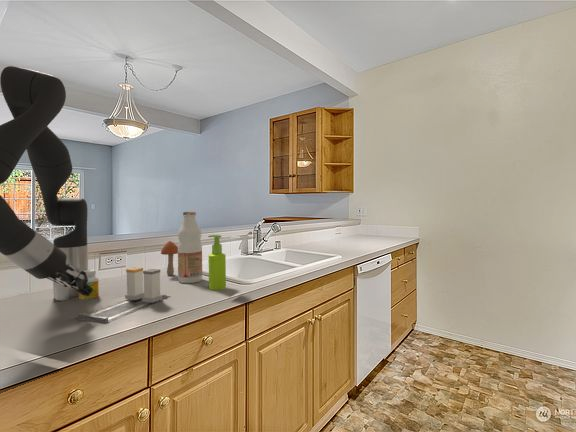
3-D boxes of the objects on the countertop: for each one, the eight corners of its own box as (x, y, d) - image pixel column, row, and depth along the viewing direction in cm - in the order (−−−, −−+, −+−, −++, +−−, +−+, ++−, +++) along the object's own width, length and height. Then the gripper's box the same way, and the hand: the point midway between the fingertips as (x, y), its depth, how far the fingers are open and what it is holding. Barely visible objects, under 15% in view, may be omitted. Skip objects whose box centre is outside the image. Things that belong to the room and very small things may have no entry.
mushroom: (173, 272, 140) (172, 239, 139) (184, 274, 135) (183, 240, 135) (157, 275, 133) (156, 241, 133) (167, 277, 129) (167, 242, 128)
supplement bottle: (84, 304, 95) (83, 273, 94) (75, 301, 97) (74, 271, 97) (102, 299, 100) (101, 270, 99) (93, 297, 102) (92, 268, 102)
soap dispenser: (217, 287, 114) (216, 233, 113) (229, 290, 109) (228, 235, 109) (203, 290, 109) (203, 235, 108) (215, 294, 105) (215, 236, 104)
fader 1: (125, 298, 95) (124, 269, 95) (135, 295, 99) (134, 267, 98) (135, 300, 94) (134, 270, 93) (145, 296, 97) (144, 267, 97)
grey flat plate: (73, 323, 80) (73, 314, 80) (144, 296, 102) (144, 290, 102) (104, 328, 76) (104, 319, 76) (171, 300, 99) (171, 293, 99)
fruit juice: (173, 283, 120) (172, 212, 119) (185, 277, 129) (184, 211, 128) (195, 284, 118) (194, 212, 117) (206, 278, 127) (205, 211, 126)
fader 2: (142, 301, 92) (141, 271, 92) (152, 297, 96) (151, 268, 96) (152, 302, 91) (152, 272, 91) (162, 298, 95) (161, 269, 94)
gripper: (68, 242, 69) (116, 282, 81) (29, 240, 74) (80, 278, 86) (43, 270, 65) (98, 308, 77) (4, 266, 69) (61, 302, 81)
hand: (88, 292), depth 81 cm, fingers closed
